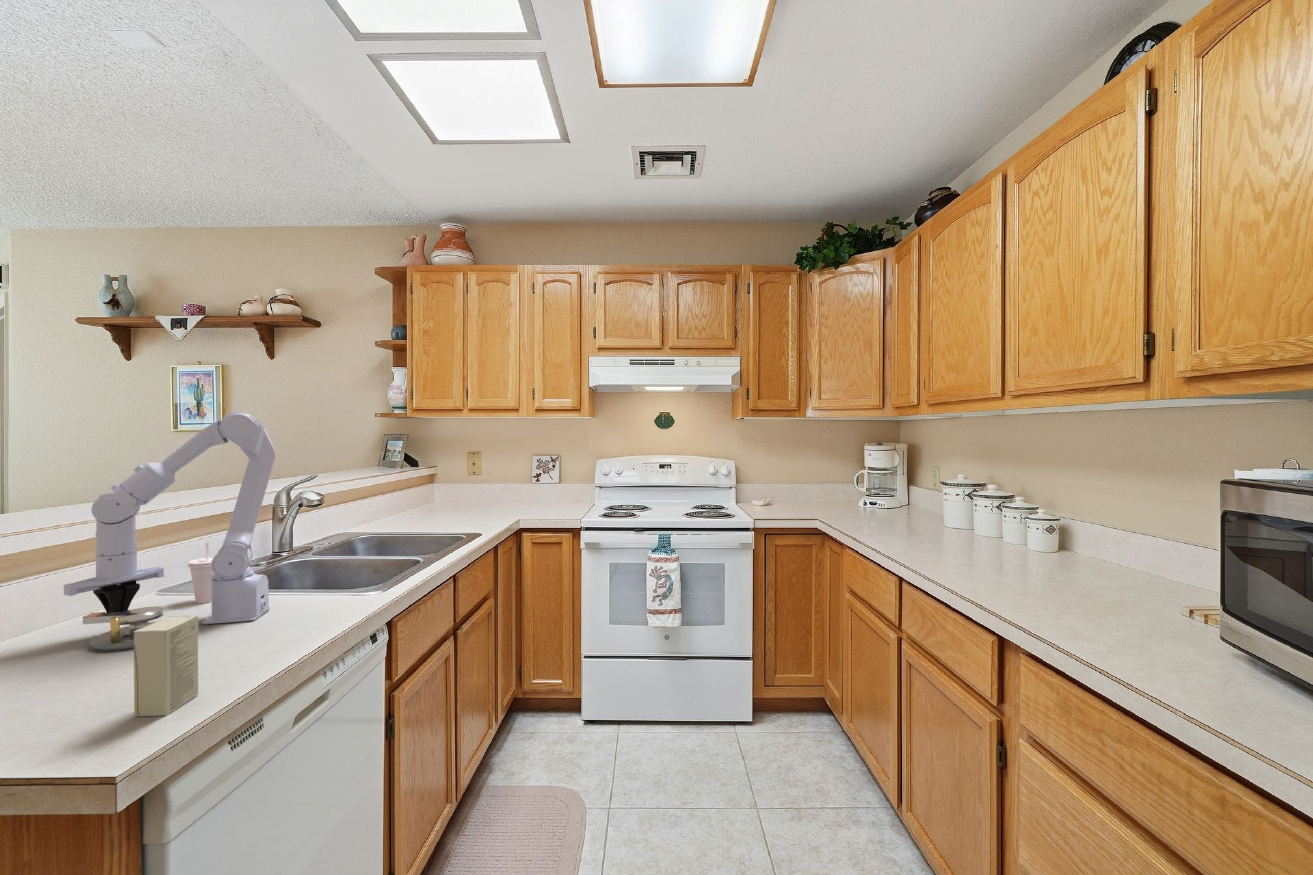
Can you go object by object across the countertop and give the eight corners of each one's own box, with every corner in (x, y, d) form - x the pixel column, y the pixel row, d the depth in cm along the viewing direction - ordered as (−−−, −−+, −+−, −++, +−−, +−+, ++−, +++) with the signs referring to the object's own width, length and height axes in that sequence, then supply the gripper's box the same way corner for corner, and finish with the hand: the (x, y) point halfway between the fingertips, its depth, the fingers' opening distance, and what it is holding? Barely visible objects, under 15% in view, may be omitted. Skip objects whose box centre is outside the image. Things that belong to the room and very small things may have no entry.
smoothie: (203, 606, 124) (202, 545, 124) (180, 604, 125) (180, 544, 125) (230, 597, 130) (230, 539, 130) (208, 596, 132) (208, 538, 132)
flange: (171, 611, 109) (171, 604, 109) (148, 622, 102) (148, 615, 102) (101, 616, 106) (101, 609, 106) (73, 628, 99) (73, 621, 99)
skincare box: (168, 696, 81) (168, 615, 81) (200, 695, 82) (199, 614, 82) (132, 718, 75) (131, 630, 75) (166, 716, 75) (165, 629, 75)
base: (198, 624, 112) (197, 596, 112) (158, 648, 100) (157, 617, 100) (121, 630, 109) (121, 601, 109) (70, 655, 96) (70, 623, 96)
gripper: (148, 544, 115) (149, 608, 115) (54, 559, 101) (54, 632, 101) (170, 547, 112) (170, 612, 112) (76, 562, 99) (76, 637, 99)
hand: (117, 622), depth 107 cm, fingers closed
